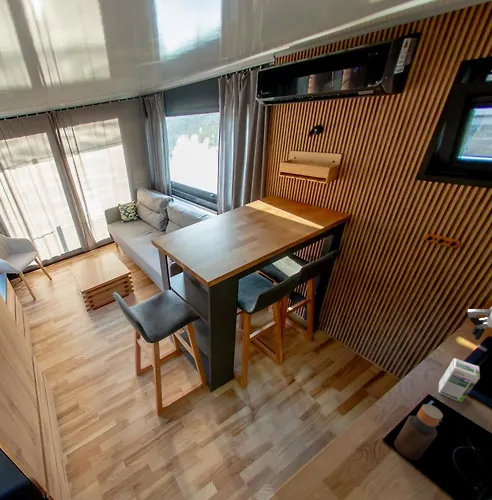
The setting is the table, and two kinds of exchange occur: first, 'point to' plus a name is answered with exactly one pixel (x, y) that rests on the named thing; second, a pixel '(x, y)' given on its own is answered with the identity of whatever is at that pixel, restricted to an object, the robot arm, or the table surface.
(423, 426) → the grey short cylinder
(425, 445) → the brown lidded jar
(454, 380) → the syrup box
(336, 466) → the table surface
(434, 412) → the orange jar cap
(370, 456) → the table surface
